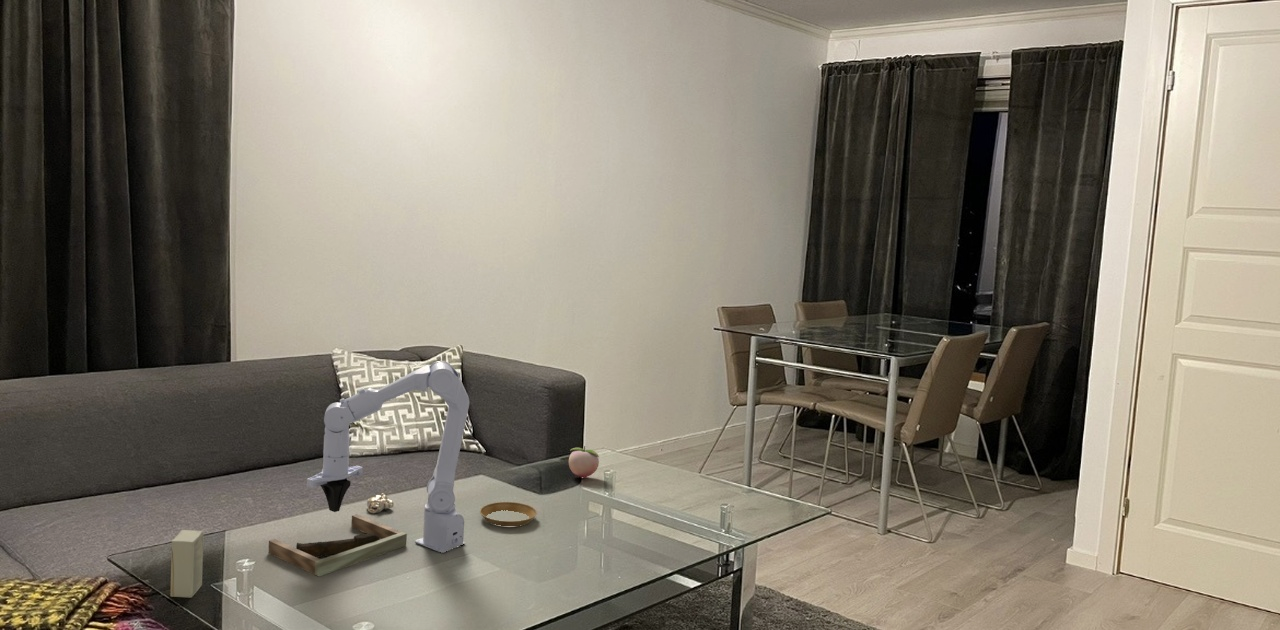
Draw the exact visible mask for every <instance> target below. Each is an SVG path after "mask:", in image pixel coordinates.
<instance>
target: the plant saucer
mask: <svg viewBox="0 0 1280 630" xmlns="http://www.w3.org/2000/svg"><path fill="white" fill-rule="evenodd" d="M501 510H503V511H504V510H505V511H506V510H508V511H514V512H519V513H523V514H526V515H527V516H529V519H526V520H521V521H499V520H494V519H490V518H487V517H486V516H487V515H488V514H491V513H492V512H496V511H501ZM479 513H480V515H481V516H482V518H483V519H484V520H485V521H488V524H490V523H492V524H496V525H501V526H520V525H523V526H525V525H524V524H526V525H528V523H530V522H531V521H532V520H534V518H535V517H536V516H537V514H538V512H537V509H536V508H534V507H533V506H531V505H529V504H525V503H521V502H513V501H499V502H493V503H489V504H485V505H483V506H482V507H481V508H480V510H479ZM492 524H491V525H492ZM520 527H521V526H520Z"/></svg>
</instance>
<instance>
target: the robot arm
mask: <svg viewBox="0 0 1280 630" xmlns="http://www.w3.org/2000/svg"><path fill="white" fill-rule="evenodd" d="M428 388H429V389H430V391H431V392H433V393H434V394H435V395H437V396H439V397H440V398H442V399H443V401H445V403H446V404H447V405H448V407H447V412H446V417H445V422H444V428H443V432H442V436H441V441H440V445H439V451H438V454H437V455H438V456H437V461H436V466H435V468H434V470H433V473H432V477H431V478H430V479H429V481H428V482H427V485H426V492H427V502H426V503H425V505H424V512H423V515H424V516H423V530H422V531H423V532H422V533H423V535H422V537H421V538H418V539H415V540H414V543H416V544H418V545H421V546H423V547H426V548H428V549H430V550H433V551H435V552H439V553H440V552H441V554H443V553H446V551H447V552H449V551H451V550H450V549H452V548H455V547H457V546H460V545H463V544H465V545H466V541H464V535H465V534H464V533H465V518H464V516H463V515H462V514H460V512H458V511H457V509H456V504H455V501H456V496H455V493H454V487H455V478H456V470H457V465H458V460H459V455H460V450H461V448H462V447H461V445H462V441H463V435H464V431H465V426H466V423H467V422H466V421H467V417H468V414H469V413H468V412H469V407H470V398H469V395H468V392H467V391H466V388H465V386H464V384H463V382H462V379H461V378H460V375H459V373H458V371H457V370H456V368H454V366H452V365H451V364H450V363H449V362H447V361H445V360H437V361H434V362H432V363H431V365H430V364H427V365H424V366H422V367H420V368H417V369H415V370H414V371H412V372H409V373H408V374H406V375H404V376H402V377H400V378H398V379H396V380H394V381H392V382H390V383H388V384H387V385H385V386H383V387H381V388H379V389H375V388H372V387H371V388H370V387H369V388H366V389H365V388H364V387H363V388H360V389H359V390H358V393H356V394H354V395H351V396H349V397H348V398H346V399H345V398H344V397H343V398H341V399H339V402H333V403H330V404H329V405H328V406H327V407H326V410H325V413H324V416H323V423H324V426H325V427H324V435H323V455H322V456H323V458H322V461H323V462H322V469H321V472H319V473H316V474H315V475H313V476H310V477H308V478H307V479H306V487H307V488H310V489H315V488H316V487H318V486H320V487H321V489H322V491H323V493H324V495H325V498H326V502H327V505H328V510H329V511H330V512H334V513H336V512H339V511H340V509H341V506H342V503H343V500H344V497H345V495H346V493H347V491H348V490H349V488H350V486H351V480H348V479H349V478H352V477H357V476H359V477H360V476H363V473H364V472H363V471H364V467H363V466H360V465H353V466H349V462H350V438H351V437H350V433H349V431H350V430H349V427H350V425H351V423H355V422H358V421H360V420H362V419H364V418H366V417H369V416H371V415H373V414H375V413H377V412H379V411H381V410H382V407H383V404H384V403H386V402H388V401H390V400H393V399H395V398H397V397H400V396H402V395H405V394H406V393H409V392H412V391H415V390H417V391H421V392H425V393H427V392H428V391H429V389H428ZM463 546H464V545H463ZM460 547H461V546H460ZM457 548H458V547H457ZM455 549H456V548H455ZM448 550H449V551H448ZM452 550H453V549H452ZM442 552H443V553H442Z"/></svg>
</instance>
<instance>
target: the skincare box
mask: <svg viewBox="0 0 1280 630" xmlns="http://www.w3.org/2000/svg"><path fill="white" fill-rule="evenodd" d="M170 555H171V556H170V557H171V558H170V560H171V561H170V565H171V566H170V597H172V598H173V597H174V598H190V599H191V598H193V597H194V595H195V594H196V593H197V592H198V591H199V589H200V588H201V587H202V586H203V559H204V557H203V556H204V530H196V529H195V530H194V529H193V530H192V529H181V530H180V531H179V532H178V533H177V535H175V536H174V538H173V539H172V540H171V554H170Z"/></svg>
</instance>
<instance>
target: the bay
mask: <svg viewBox="0 0 1280 630" xmlns="http://www.w3.org/2000/svg"><path fill="white" fill-rule="evenodd" d="M351 528H352V529H355V530H358V531H359V532H362V533H364V534H376V535H377V536H378V537H379V539H380V540H377V541H374V542H372V543H369V544H366V545H363V546H360V547H357V548H354V549H351V550H348V551H345V552H342V553H339V554H336V555H333V556H326V557H324V558H322V559H320V557H314V556H312V555H310V554H307V553H305V552H303V551H301V550H298V549H296V547H294V546H291V545H289V544H288V543H284V542H283V541H280V540H278V539H276V538H272V539H270V540H268V554H269V555H271V556H274V557H275V558H278V559H280V560H282V561H284V562H287V563H289V564H291V565H293V566H295V567H297V568H300V569H302V570H304V571H307V572H309V573H311V574H313V575H315V576H318V577H321V576H325V575H328V574H331V573H333V572H335V571H339V570H343V569H344V568H348V567H351V566H353V565H356V564H359V563H361V562H364V561H367V560H369V559H372V558H373V559H374V558H375V557H379V556H381V555H384V554H386V553H390V552H393V551H395V550H398V549H401V548H404V547H407V539H408V538H407V536H408V533H405V532H404V531H401V530H399V529H396V528H393V527H390V526H388V525H385V524H383V523H380V522H378V521H375V520H373V519H371V518H368V517H365V516H362V515H360V514H357V513H356V514H352V515H351Z"/></svg>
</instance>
